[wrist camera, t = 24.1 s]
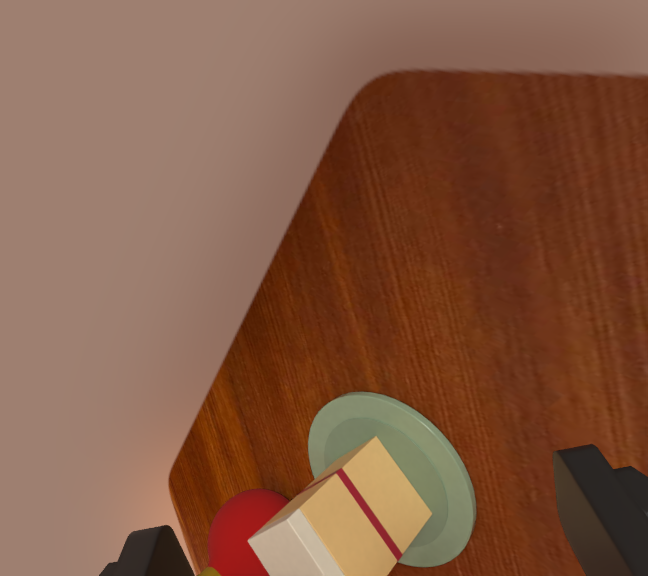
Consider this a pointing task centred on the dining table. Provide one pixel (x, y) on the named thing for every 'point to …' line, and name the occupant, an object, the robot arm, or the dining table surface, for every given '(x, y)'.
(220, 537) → the christmas ornament
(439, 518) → the plate
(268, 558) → the cake slice
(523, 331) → the dining table surface
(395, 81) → the dining table surface
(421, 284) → the dining table surface
